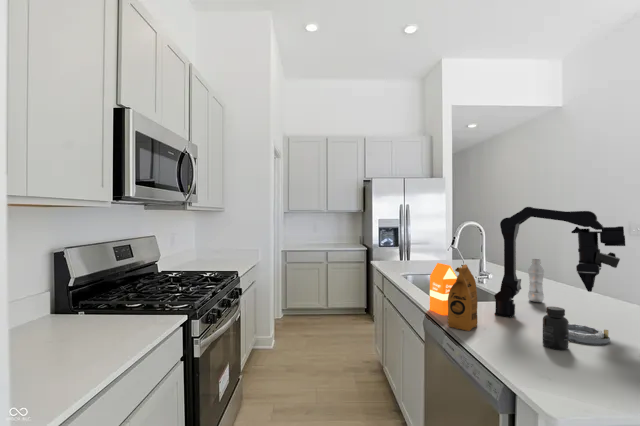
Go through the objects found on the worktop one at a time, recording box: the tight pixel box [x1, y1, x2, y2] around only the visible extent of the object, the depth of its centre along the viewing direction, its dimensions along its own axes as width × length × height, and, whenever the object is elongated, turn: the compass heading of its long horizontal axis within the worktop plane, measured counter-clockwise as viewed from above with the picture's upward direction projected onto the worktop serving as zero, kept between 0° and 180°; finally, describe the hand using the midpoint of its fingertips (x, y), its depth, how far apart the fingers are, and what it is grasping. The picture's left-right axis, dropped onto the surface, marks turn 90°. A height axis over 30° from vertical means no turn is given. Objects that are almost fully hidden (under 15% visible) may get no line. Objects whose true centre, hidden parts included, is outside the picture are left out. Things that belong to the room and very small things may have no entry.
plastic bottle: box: [527, 258, 545, 303], centre depth 168 cm, size 6×7×20 cm
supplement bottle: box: [542, 306, 570, 351], centre depth 112 cm, size 7×7×12 cm
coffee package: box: [447, 264, 478, 332], centre depth 132 cm, size 10×12×22 cm
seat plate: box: [569, 323, 611, 346], centre depth 121 cm, size 16×16×4 cm
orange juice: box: [429, 262, 458, 316], centre depth 151 cm, size 8×9×20 cm
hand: (590, 289), depth 128 cm, fingers open, 9 cm apart
